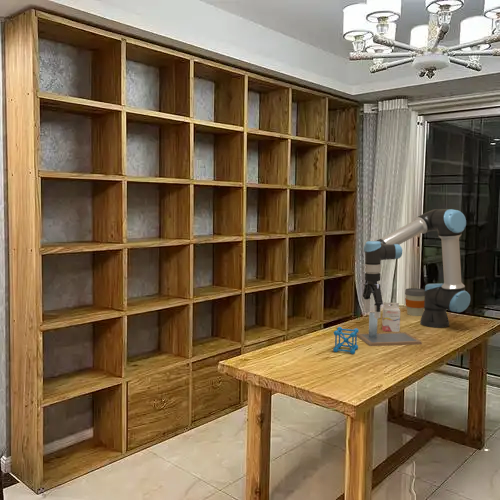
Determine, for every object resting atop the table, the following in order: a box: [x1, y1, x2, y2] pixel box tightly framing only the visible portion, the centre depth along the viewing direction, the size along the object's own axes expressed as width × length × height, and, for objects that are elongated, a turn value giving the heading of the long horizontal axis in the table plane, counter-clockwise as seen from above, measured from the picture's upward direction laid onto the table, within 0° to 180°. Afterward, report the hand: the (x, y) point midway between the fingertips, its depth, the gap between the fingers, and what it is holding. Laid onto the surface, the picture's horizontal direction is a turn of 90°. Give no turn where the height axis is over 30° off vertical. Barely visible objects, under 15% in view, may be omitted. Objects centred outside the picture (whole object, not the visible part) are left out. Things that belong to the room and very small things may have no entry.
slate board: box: [357, 331, 423, 347], centre depth 262 cm, size 26×18×1 cm
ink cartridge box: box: [381, 302, 401, 333], centre depth 280 cm, size 9×5×15 cm, turn 84°
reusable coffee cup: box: [404, 287, 425, 317], centre depth 320 cm, size 13×13×15 cm
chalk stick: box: [368, 311, 378, 338], centre depth 263 cm, size 4×4×12 cm
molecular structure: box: [332, 326, 360, 355], centre depth 242 cm, size 10×10×10 cm
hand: (372, 315), depth 262 cm, fingers open, 13 cm apart
